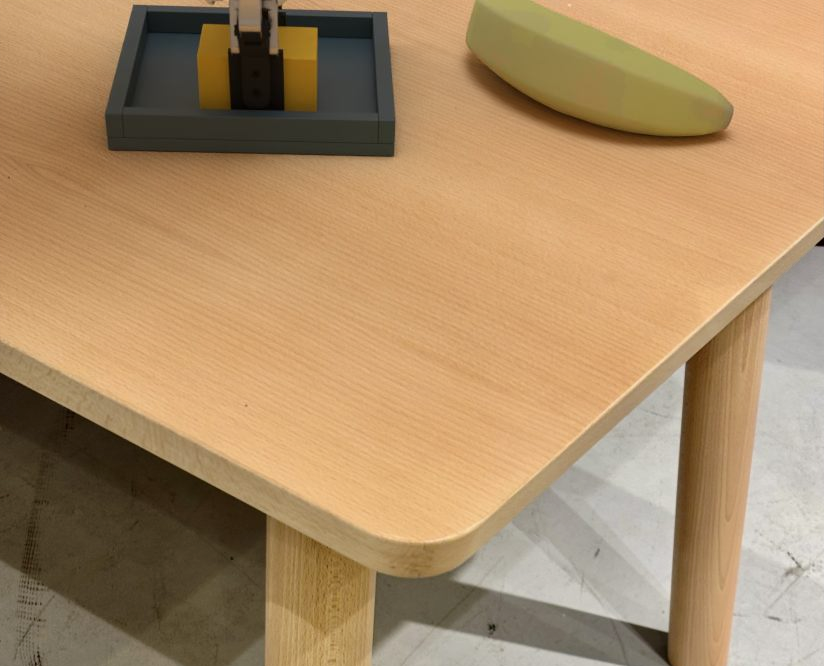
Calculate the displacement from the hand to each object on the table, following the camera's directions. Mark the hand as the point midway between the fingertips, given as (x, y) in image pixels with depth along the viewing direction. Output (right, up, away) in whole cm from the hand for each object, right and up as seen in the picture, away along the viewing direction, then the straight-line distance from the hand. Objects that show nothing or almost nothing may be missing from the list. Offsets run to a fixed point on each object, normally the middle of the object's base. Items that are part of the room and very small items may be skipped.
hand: (259, 91), depth 85 cm
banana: (+20, +3, +7) cm, 22 cm away
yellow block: (0, -1, +1) cm, 1 cm away
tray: (0, +1, +3) cm, 4 cm away
